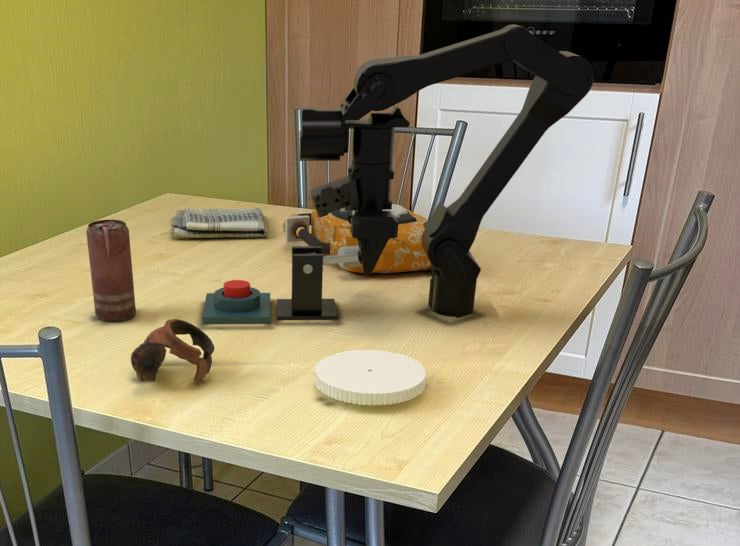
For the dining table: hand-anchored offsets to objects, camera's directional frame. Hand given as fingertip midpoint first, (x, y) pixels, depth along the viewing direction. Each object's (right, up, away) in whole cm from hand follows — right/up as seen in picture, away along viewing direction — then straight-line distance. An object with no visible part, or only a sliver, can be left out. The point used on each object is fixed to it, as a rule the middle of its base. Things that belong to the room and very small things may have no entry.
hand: (366, 270), depth 137 cm
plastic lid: (-2, -20, -20) cm, 29 cm away
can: (-38, -6, +4) cm, 39 cm away
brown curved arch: (-28, -19, -16) cm, 37 cm away
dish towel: (-24, +21, +47) cm, 57 cm away
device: (+2, +9, +28) cm, 29 cm away
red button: (-19, -3, +2) cm, 20 cm away
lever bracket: (-9, -6, +4) cm, 11 cm away
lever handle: (-4, 0, 0) cm, 4 cm away
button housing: (-19, -6, +4) cm, 20 cm away
